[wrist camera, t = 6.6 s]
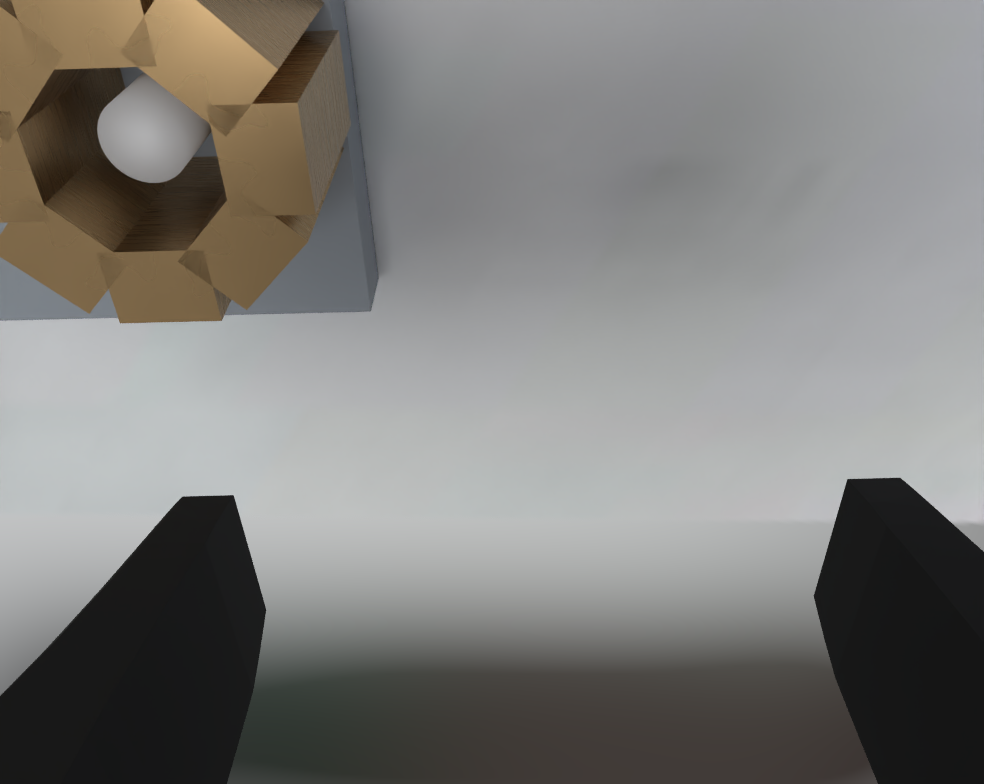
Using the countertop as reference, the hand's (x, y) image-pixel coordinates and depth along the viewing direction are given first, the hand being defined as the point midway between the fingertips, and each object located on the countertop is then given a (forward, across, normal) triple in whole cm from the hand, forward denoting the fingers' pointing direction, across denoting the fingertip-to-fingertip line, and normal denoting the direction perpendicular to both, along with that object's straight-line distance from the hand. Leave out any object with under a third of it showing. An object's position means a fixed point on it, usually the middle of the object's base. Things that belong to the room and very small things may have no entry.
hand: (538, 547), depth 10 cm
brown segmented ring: (+9, +6, -3) cm, 11 cm away
